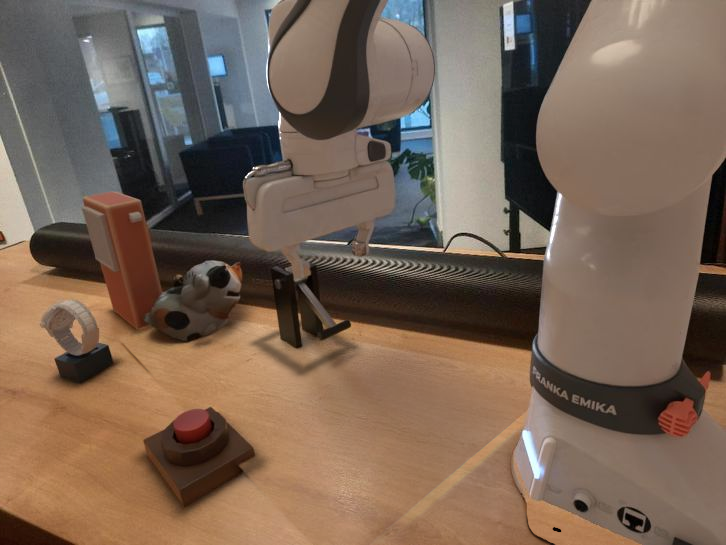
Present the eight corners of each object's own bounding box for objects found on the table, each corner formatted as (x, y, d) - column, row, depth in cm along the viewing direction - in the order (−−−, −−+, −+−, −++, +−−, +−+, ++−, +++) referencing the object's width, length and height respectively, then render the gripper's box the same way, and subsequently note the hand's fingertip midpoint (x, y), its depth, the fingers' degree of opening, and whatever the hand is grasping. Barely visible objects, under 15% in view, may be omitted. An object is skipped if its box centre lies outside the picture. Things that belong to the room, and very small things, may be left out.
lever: (348, 331, 69) (353, 321, 68) (320, 345, 66) (324, 335, 65) (301, 271, 74) (305, 260, 72) (273, 281, 71) (276, 270, 69)
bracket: (351, 347, 74) (344, 267, 69) (301, 371, 68) (290, 287, 63) (304, 322, 82) (295, 249, 77) (257, 342, 77) (244, 265, 72)
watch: (86, 355, 76) (65, 290, 72) (121, 365, 73) (102, 297, 69) (51, 374, 72) (27, 306, 68) (87, 386, 68) (64, 315, 64)
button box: (256, 464, 52) (251, 433, 51) (184, 507, 48) (175, 475, 46) (214, 421, 59) (208, 393, 58) (147, 455, 55) (138, 426, 53)
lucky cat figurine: (183, 307, 90) (209, 238, 88) (238, 337, 88) (267, 267, 86) (126, 323, 76) (155, 241, 73) (191, 359, 74) (223, 276, 71)
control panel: (143, 298, 96) (176, 320, 86) (105, 310, 92) (135, 336, 81) (116, 189, 88) (148, 199, 78) (73, 197, 84) (101, 209, 74)
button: (217, 432, 52) (215, 418, 51) (185, 449, 50) (181, 435, 49) (203, 417, 54) (200, 404, 54) (171, 433, 52) (167, 419, 52)
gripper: (255, 171, 49) (276, 298, 54) (400, 142, 61) (406, 248, 66) (226, 167, 53) (247, 284, 58) (366, 141, 66) (374, 240, 71)
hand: (333, 265), depth 62 cm, fingers open, 8 cm apart
